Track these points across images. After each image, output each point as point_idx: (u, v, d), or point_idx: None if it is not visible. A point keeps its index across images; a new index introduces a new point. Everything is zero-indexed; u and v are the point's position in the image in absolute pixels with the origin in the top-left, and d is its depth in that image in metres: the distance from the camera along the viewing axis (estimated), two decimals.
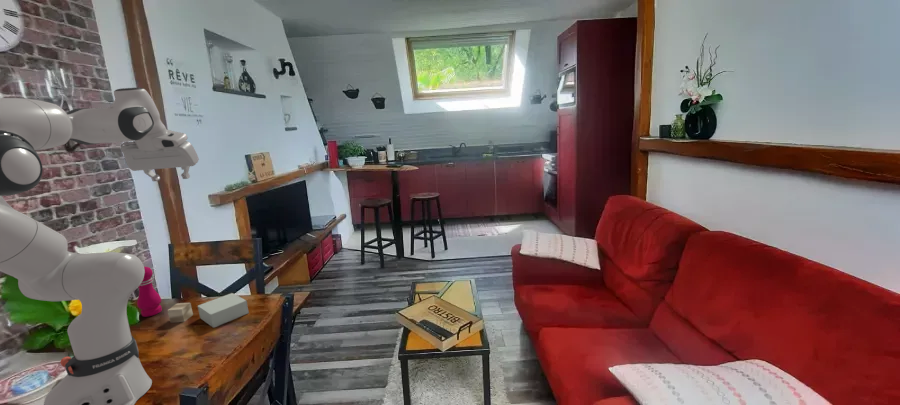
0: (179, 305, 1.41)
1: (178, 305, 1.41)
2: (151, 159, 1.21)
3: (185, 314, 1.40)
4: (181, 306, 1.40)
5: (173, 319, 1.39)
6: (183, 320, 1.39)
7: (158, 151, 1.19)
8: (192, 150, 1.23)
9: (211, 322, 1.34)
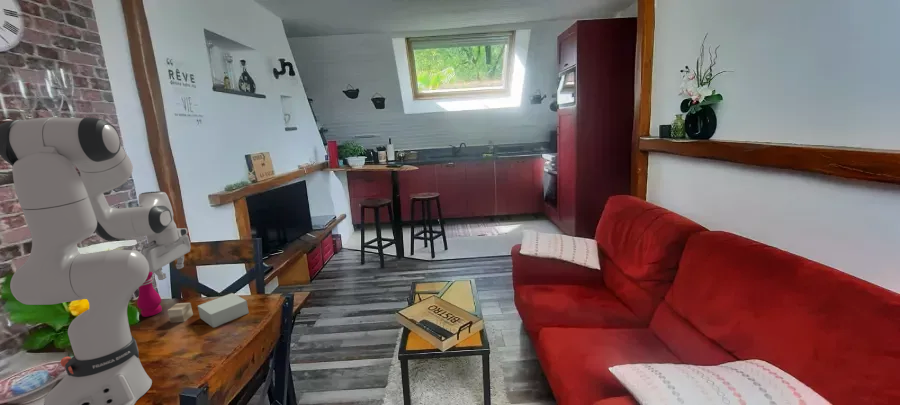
0: (179, 305, 1.41)
1: (178, 305, 1.41)
2: (167, 254, 1.34)
3: (185, 314, 1.40)
4: (181, 306, 1.40)
5: (173, 319, 1.39)
6: (183, 320, 1.39)
7: (175, 242, 1.37)
8: None
9: (211, 322, 1.34)
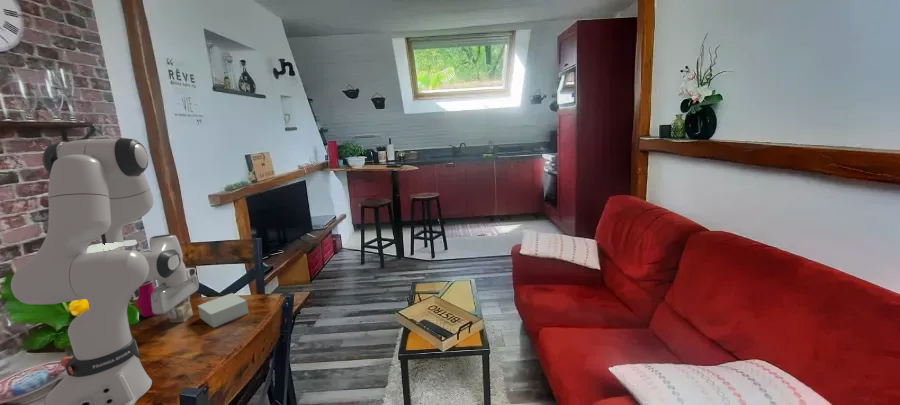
0: (179, 305, 1.41)
1: (178, 305, 1.41)
2: (177, 294, 1.37)
3: (185, 314, 1.40)
4: (181, 306, 1.40)
5: (173, 319, 1.39)
6: (183, 320, 1.39)
7: (184, 282, 1.40)
8: None
9: (211, 322, 1.34)
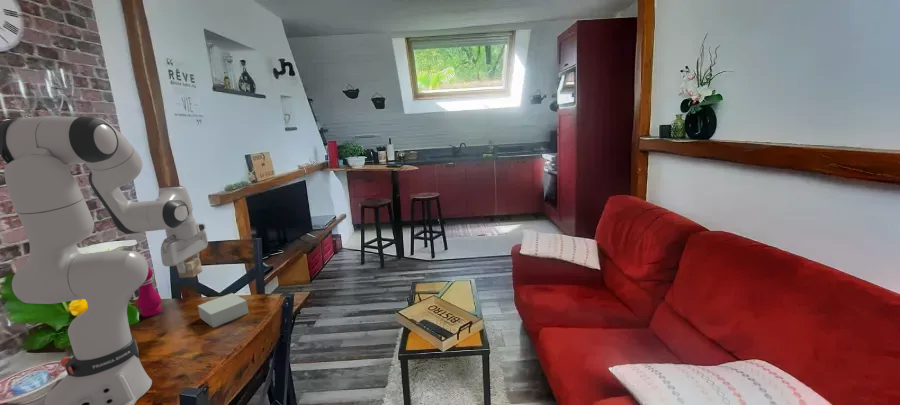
0: (188, 260, 1.37)
1: (187, 260, 1.37)
2: (187, 248, 1.34)
3: (194, 269, 1.36)
4: (190, 261, 1.36)
5: (182, 274, 1.35)
6: (193, 275, 1.35)
7: (194, 237, 1.37)
8: None
9: (211, 322, 1.34)
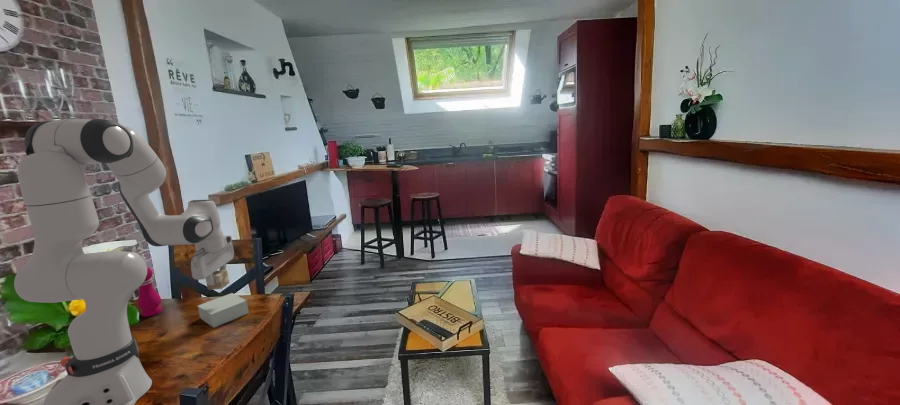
0: (216, 272, 1.39)
1: (215, 272, 1.39)
2: (215, 261, 1.35)
3: (222, 281, 1.37)
4: (218, 273, 1.38)
5: (211, 286, 1.36)
6: (221, 287, 1.37)
7: (221, 249, 1.38)
8: None
9: (211, 322, 1.34)
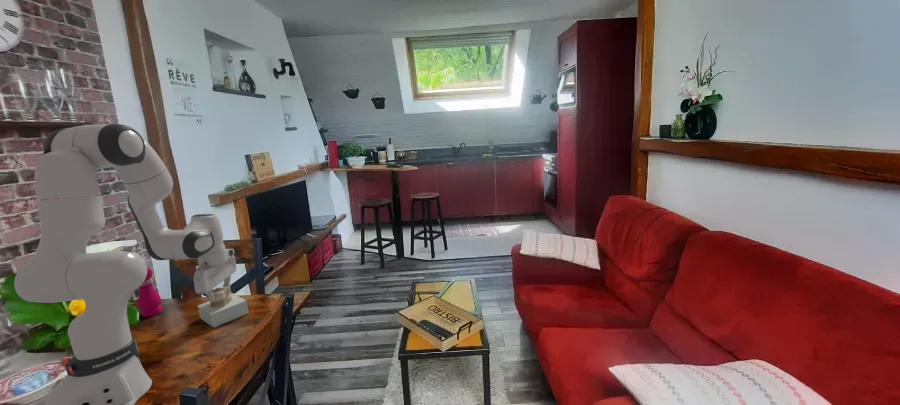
0: (219, 289, 1.40)
1: (218, 289, 1.40)
2: (217, 275, 1.36)
3: (225, 298, 1.39)
4: (221, 290, 1.39)
5: (214, 303, 1.38)
6: (224, 304, 1.38)
7: (224, 263, 1.39)
8: None
9: (211, 322, 1.34)
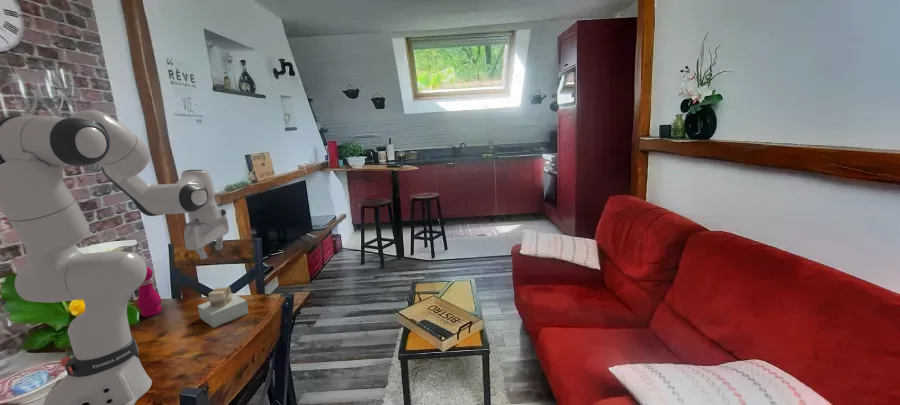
0: (219, 289, 1.40)
1: (218, 289, 1.40)
2: (209, 233, 1.33)
3: (225, 298, 1.39)
4: (221, 290, 1.39)
5: (214, 303, 1.38)
6: (224, 304, 1.38)
7: (216, 222, 1.36)
8: None
9: (211, 322, 1.34)
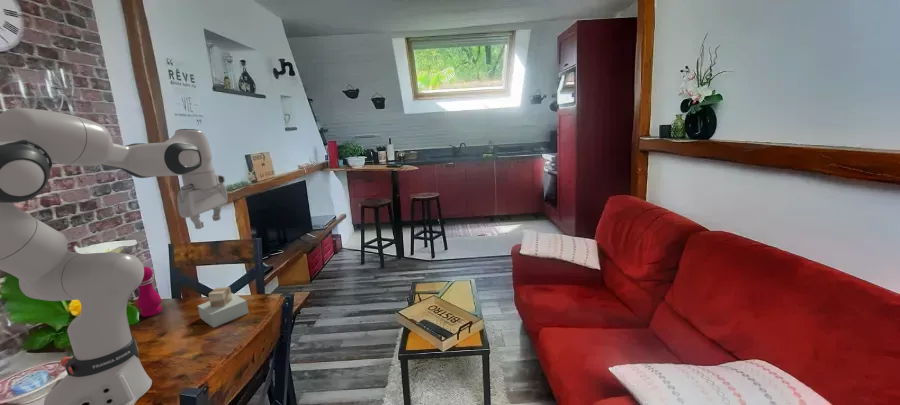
0: (219, 289, 1.40)
1: (218, 289, 1.40)
2: (205, 200, 1.20)
3: (225, 298, 1.39)
4: (221, 290, 1.39)
5: (214, 303, 1.38)
6: (224, 304, 1.38)
7: (213, 189, 1.23)
8: None
9: (211, 322, 1.34)
